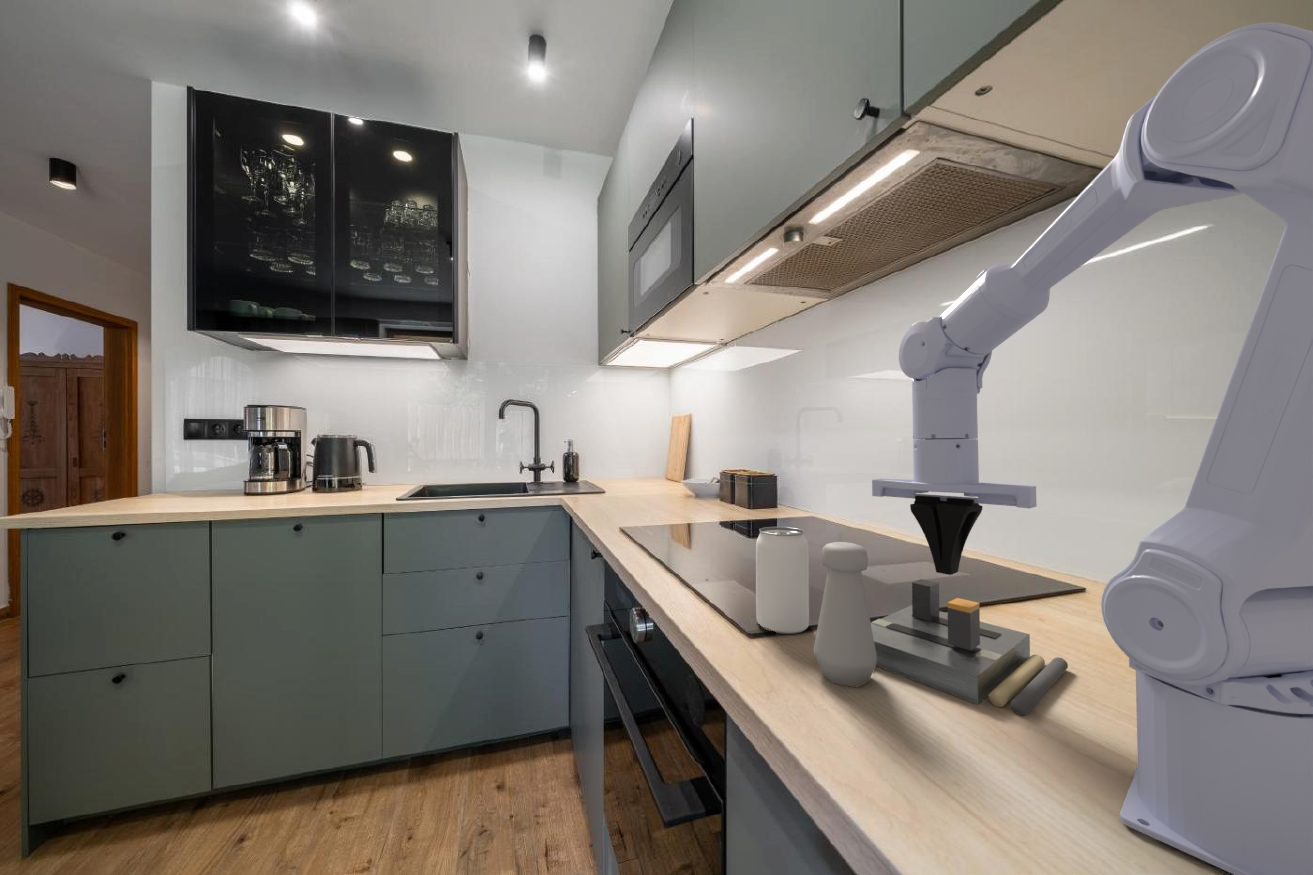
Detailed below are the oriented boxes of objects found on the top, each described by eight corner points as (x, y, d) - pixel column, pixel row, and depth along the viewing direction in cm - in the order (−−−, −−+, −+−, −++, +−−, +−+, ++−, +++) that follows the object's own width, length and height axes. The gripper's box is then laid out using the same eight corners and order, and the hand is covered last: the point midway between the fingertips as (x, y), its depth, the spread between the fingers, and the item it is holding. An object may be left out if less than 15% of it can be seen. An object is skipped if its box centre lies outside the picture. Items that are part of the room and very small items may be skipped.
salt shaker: (838, 695, 43) (836, 552, 43) (802, 666, 48) (801, 540, 48) (891, 686, 44) (889, 548, 44) (850, 659, 50) (849, 537, 50)
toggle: (980, 644, 47) (979, 602, 47) (970, 650, 45) (970, 607, 45) (957, 637, 48) (957, 597, 48) (948, 643, 47) (947, 602, 47)
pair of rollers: (1069, 670, 47) (1069, 658, 47) (1028, 717, 39) (1027, 703, 39) (1034, 660, 49) (1034, 648, 50) (988, 703, 41) (988, 689, 41)
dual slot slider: (1030, 657, 50) (1028, 596, 50) (977, 704, 41) (976, 629, 41) (913, 624, 60) (912, 572, 60) (849, 656, 50) (849, 595, 51)
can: (819, 632, 57) (818, 533, 57) (771, 637, 55) (770, 536, 56) (791, 614, 63) (791, 525, 64) (747, 618, 62) (747, 527, 62)
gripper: (1044, 438, 45) (1047, 580, 45) (892, 441, 57) (893, 554, 56) (1021, 437, 41) (1025, 594, 40) (861, 440, 52) (863, 563, 52)
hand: (947, 572), depth 48 cm, fingers closed
